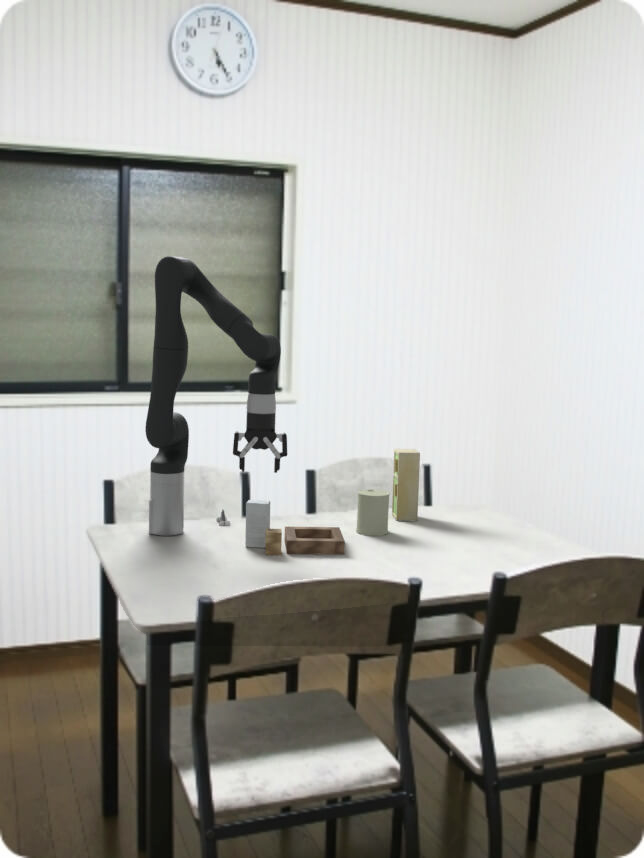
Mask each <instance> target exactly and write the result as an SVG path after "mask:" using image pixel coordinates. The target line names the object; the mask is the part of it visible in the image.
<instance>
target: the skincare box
mask: <svg viewBox="0 0 644 858" xmlns="http://www.w3.org/2000/svg"><path fill="white" fill-rule="evenodd" d="M266 529H271V500H258V499H248V500H247V501H246V503H245V543H244V544H245V548H257V549H258V548H259V549H260V548H262V549H265V542H266Z"/></svg>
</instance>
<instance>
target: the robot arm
mask: <svg viewBox="0 0 644 858" xmlns="http://www.w3.org/2000/svg"><path fill="white" fill-rule="evenodd" d="M211 282H212V281H210V280H209V279H208V278H207V277H206V275H205V274H204V273H203V272H202V271H201V270H200V268H199V267H198V266H197V264H196V263H195V262H194V261H192V260H191V259H189V258H187V257H181V256H174V255H172V256H171V255H170V256H169V255H167V256H164V257H162V258H161V259H160V260H159V261H158V263H157V265H156V267H155V271H154V293H155V294H154V295H155V319H154V337H153V338H154V339H153V348H152V349H153V351H152V368H151V369H152V373H151V382H150V383H151V384H150V395H149V403H148V409H147V414H146V415H147V416H146V420H145V436H146V439H147V442H148V443H149V445H151V446H152V447H154V448H156V449H158V452H157V453H156V455H155V457H154V458H152V460H151V461H150V467H149V468H150V470H149V471H150V475H149V477H150V478H149V479H150V480H149V481H150V484H149V485H150V486H149V488H150V491H149V496H150V497H149V500H148V535H155V536H163V537H164V536H166V537H167V536H178V535H181V534H183V533H184V528H185V527H184V526H185V525H184V524H185V523H184V522H185V521H184V519H185V514H184V513H185V511H184V510H185V467H186V463H187V461H188V455H189V439H190V433H189V431H190V429H189V424H188V421H187V420H186V418H185V416H183V414H182V413H180V412H179V413H178V412H174V406H175V398H176V395H177V392H178V389H179V387H180V385H181V383H182V380H183V379H184V376H185V373H186V371H187V366H188V356H189V339H188V335H187V331H186V328H185V325H184V322H183V318H182V313H181V309H182V308H181V306H182V305H181V304H182V293H185V295H188V296H189V297H191V298H193V299H194V300H195V301H196V302H198V303H199V304H200V306H201V307H203V309H204V310H205V312H206V313H207V315H208V317H209V318H210V319H211V320H212V322H213V323H214V324H215V325H216V326H217V327H218V328H219V329H220V330H222V332H223V333H225V334H226V335H227V336H228V337H230V338H231V339H232V340H233V341H234V343H235V344H236V345H237V347H238V348H239V349H240V350H241V352H242V353H243V354H244V355H245V356H246V357H247V358H249V359H250V360H252V361H254V362H255V365H254V369H253V370H252V371H250V373H249V374H248V375H249V376H248V386H247V387H248V388H247V391H248V393H247V401H246V424H245V426H246V429H245V432H239V431H238V430H237V431H235V432H234V434H233V435H234V436H233V444H232V445H233V446H232V455H233V456H236V457H238V459H239V464H238V468H239V470H241V472H242V473H245V470H246V469H245V466H246V465H245V464H246V462H245V461H246V457H245V456H246V455H247V454H248V452H250V450H251V449H253V450H268V449H269V450H270V451H271V453H272V454H273V455H274V464H273V465H274V471H273V473H275V474H277V473H278V471H280V469H281V458H283V457H287V456H288V436H287V433H286V432H283V433H277V432H276V412H277V406H276V405H277V401H276V384H277V383H276V376H277V372H278V370H279V365H280V361H281V354H282V347H281V343H280V340H279V339H278V337H277V336H276V335H274V334H272V333H261V332H259V330H257V329H256V328H255V327H254V324H253V321H252V319H251V318H250V317H249V316H248V315H246V314H245V313H244V312H243V311H242V310H240V308H238V307H237V306H236V305H235V304H233V303H232V302H231V301H230V300H228V298H226V297H225V296H224V295H223V294H222V293H221V292H220V291H219V290H218V289H217V288H216V287H215V285H213V283H211ZM243 438H244V439H245V440H246V442H247V443H246V444H245V446H244V447H243V448H242V450H241V451H240V450H238V449H239V442H241V441H242V440H243ZM276 439H278V440H279V442H280V443H281V451H280V452H279V451H278V449H277V448H276V446H275V445H274V444H273V443H274V442H275V441H276Z"/></svg>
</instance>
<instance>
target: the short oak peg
mask: <svg viewBox="0 0 644 858" xmlns="http://www.w3.org/2000/svg"><path fill="white" fill-rule="evenodd" d="M282 534H283V532H282V528H270V529H266V542H265V548H264V549H265V551H264V554H265V556H282V536H283V535H282Z"/></svg>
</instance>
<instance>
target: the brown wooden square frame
mask: <svg viewBox="0 0 644 858" xmlns="http://www.w3.org/2000/svg"><path fill="white" fill-rule="evenodd" d="M284 545H285V550H286V551H285V552H286V554H289V555H291V554H293V555H345V549H346V548H345V547H346V541H345V538H344V536H343V533H342V530H341V528H340V527H338V526H284Z"/></svg>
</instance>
